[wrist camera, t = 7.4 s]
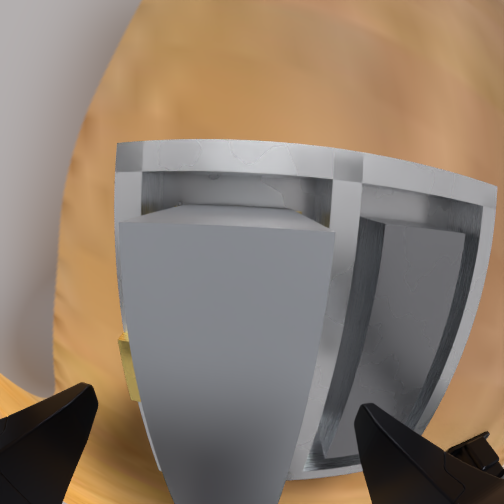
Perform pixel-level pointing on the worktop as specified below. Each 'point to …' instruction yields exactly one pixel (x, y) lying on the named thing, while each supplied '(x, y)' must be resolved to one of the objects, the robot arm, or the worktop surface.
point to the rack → (343, 269)
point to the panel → (224, 341)
